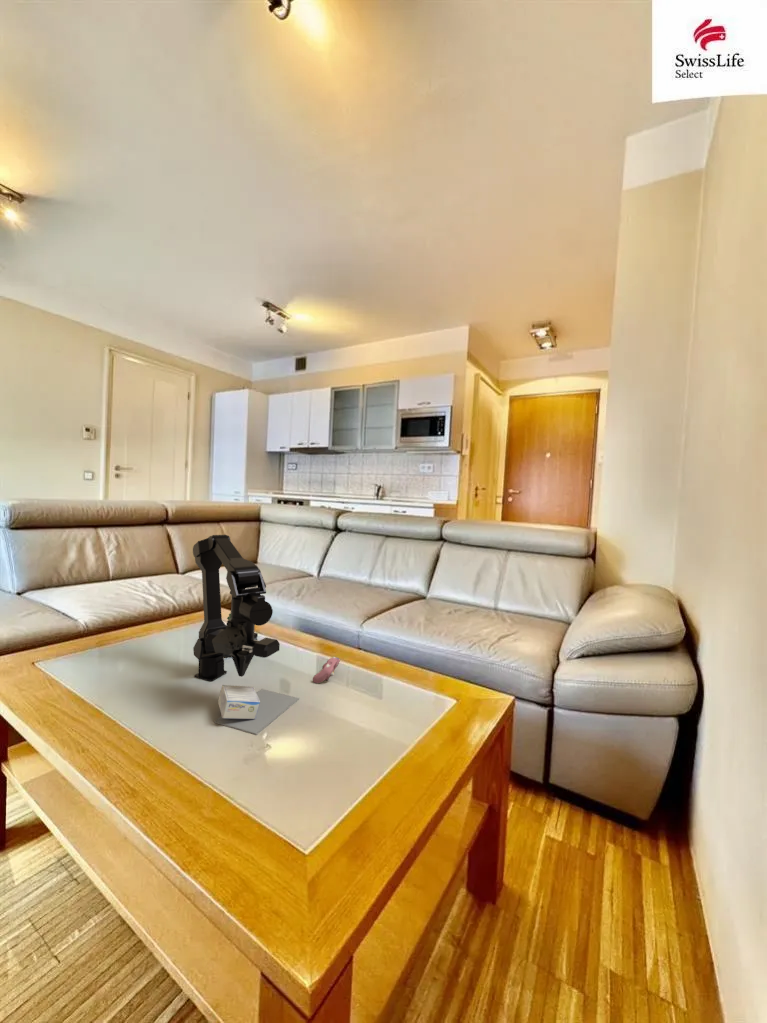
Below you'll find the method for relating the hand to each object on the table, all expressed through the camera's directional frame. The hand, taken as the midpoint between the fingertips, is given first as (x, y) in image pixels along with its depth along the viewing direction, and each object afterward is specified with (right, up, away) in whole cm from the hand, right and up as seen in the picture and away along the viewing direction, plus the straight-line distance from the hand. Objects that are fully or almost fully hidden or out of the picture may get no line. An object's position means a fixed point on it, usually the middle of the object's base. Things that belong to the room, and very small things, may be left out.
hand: (241, 675), depth 106 cm
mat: (+5, -8, -1) cm, 10 cm away
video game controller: (+19, -8, +19) cm, 28 cm away
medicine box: (-1, -4, 0) cm, 4 cm away
